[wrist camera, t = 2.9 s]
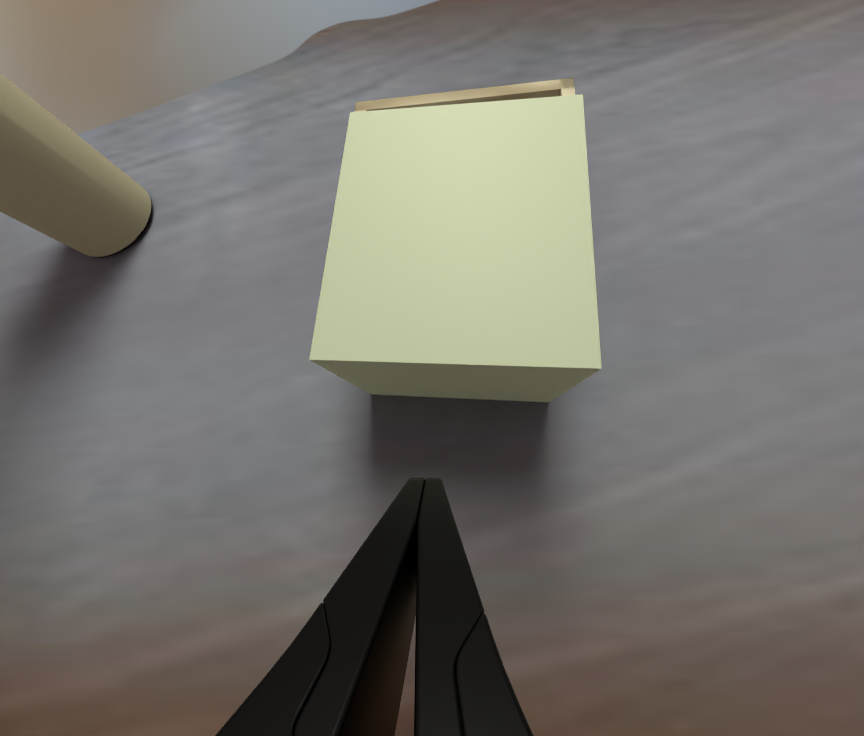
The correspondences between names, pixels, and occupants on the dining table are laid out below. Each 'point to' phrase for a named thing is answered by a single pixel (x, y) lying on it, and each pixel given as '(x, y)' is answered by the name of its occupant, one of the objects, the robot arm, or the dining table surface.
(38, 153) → the travel mug
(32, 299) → the dining table surface
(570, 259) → the sage box
